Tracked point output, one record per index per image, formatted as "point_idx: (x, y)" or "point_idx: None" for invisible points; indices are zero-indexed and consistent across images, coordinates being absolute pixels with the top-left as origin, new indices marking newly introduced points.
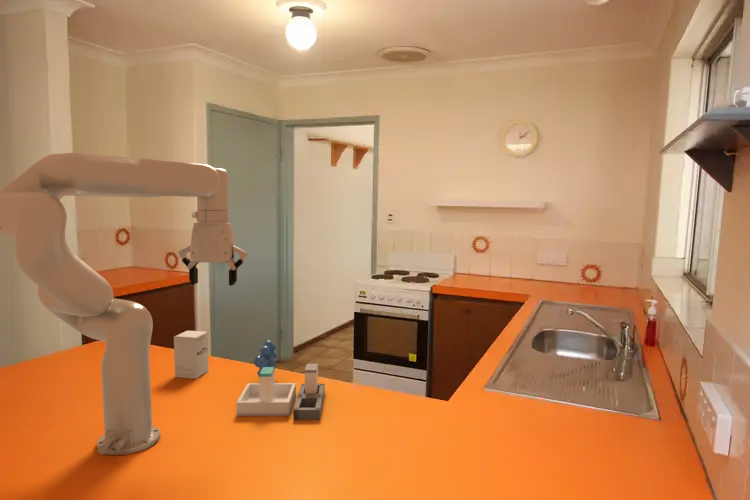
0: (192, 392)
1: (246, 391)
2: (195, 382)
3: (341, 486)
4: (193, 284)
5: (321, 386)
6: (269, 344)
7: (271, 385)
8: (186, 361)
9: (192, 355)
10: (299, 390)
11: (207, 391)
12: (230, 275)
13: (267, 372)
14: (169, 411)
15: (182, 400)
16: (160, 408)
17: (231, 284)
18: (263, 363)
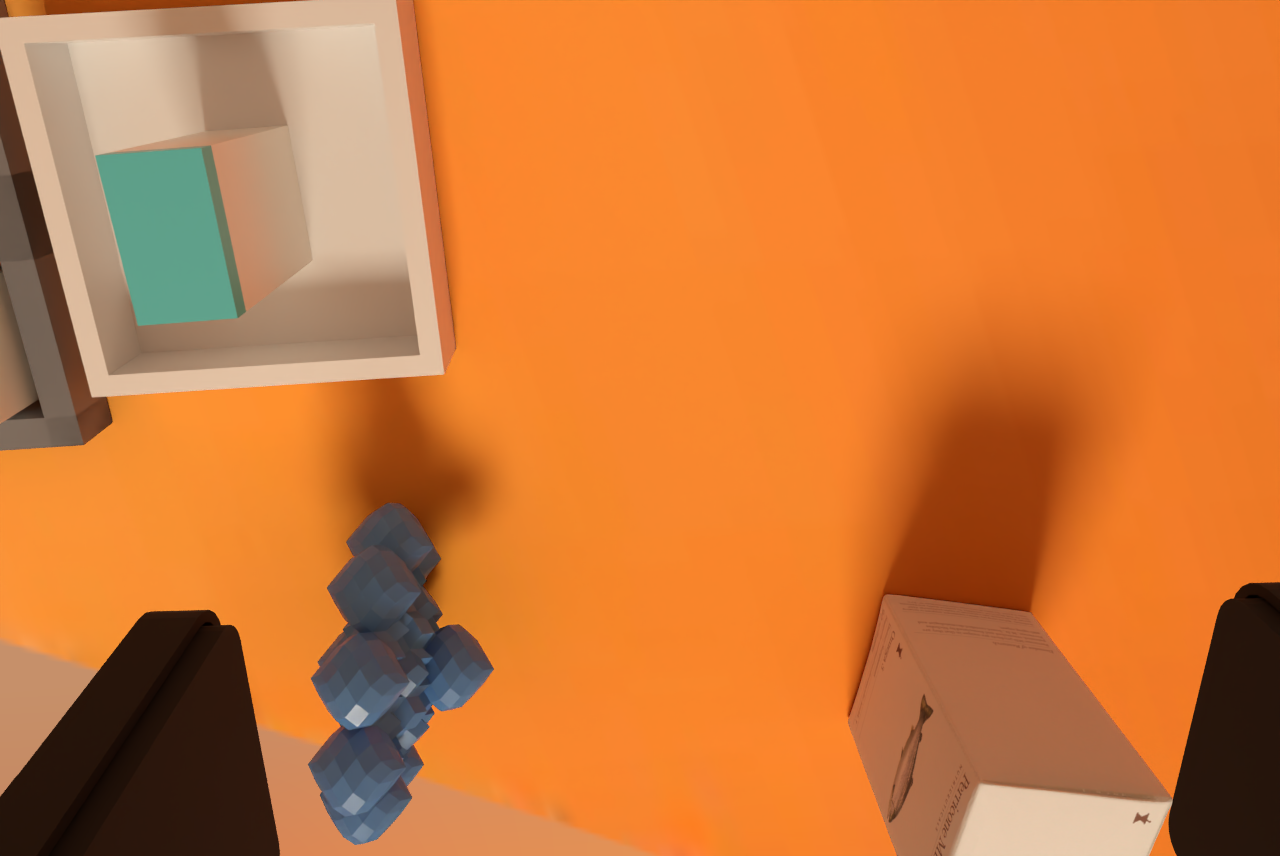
0: (841, 381)
1: (404, 232)
2: (873, 540)
3: None
4: (1235, 604)
5: None
6: (332, 754)
7: (141, 145)
8: (989, 664)
9: (959, 688)
10: (50, 321)
11: (748, 402)
12: (27, 811)
13: (142, 184)
14: (894, 61)
15: (865, 247)
16: (969, 108)
17: (140, 617)
18: (357, 559)
